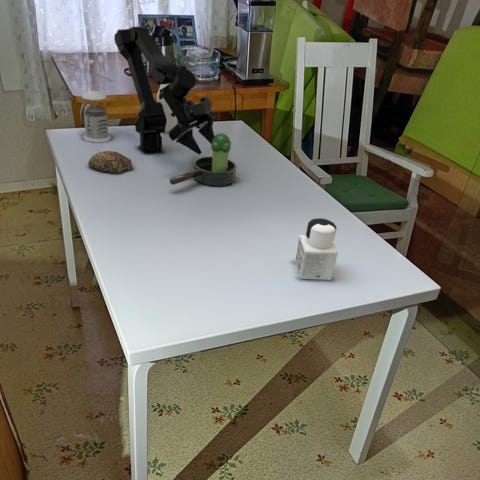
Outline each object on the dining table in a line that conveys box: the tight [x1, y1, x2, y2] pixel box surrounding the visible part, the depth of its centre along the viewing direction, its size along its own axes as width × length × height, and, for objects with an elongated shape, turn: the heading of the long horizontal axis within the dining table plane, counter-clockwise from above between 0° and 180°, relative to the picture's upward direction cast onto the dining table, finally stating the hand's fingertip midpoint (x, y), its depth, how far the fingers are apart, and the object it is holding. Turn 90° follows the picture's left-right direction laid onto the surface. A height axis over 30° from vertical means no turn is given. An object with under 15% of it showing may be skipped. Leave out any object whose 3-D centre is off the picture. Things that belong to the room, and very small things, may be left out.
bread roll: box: [87, 150, 133, 175], centre depth 163 cm, size 13×12×5 cm
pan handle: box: [169, 169, 202, 186], centre depth 154 cm, size 13×2×2 cm, turn 140°
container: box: [294, 217, 339, 281], centre depth 122 cm, size 8×8×13 cm
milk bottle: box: [156, 84, 178, 134], centre depth 191 cm, size 8×8×20 cm
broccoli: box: [210, 132, 232, 172], centre depth 159 cm, size 7×7×14 cm
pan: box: [192, 156, 237, 187], centre depth 163 cm, size 13×13×4 cm
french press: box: [79, 59, 112, 143], centre depth 175 cm, size 10×12×25 cm
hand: (208, 149), depth 160 cm, fingers open, 9 cm apart
